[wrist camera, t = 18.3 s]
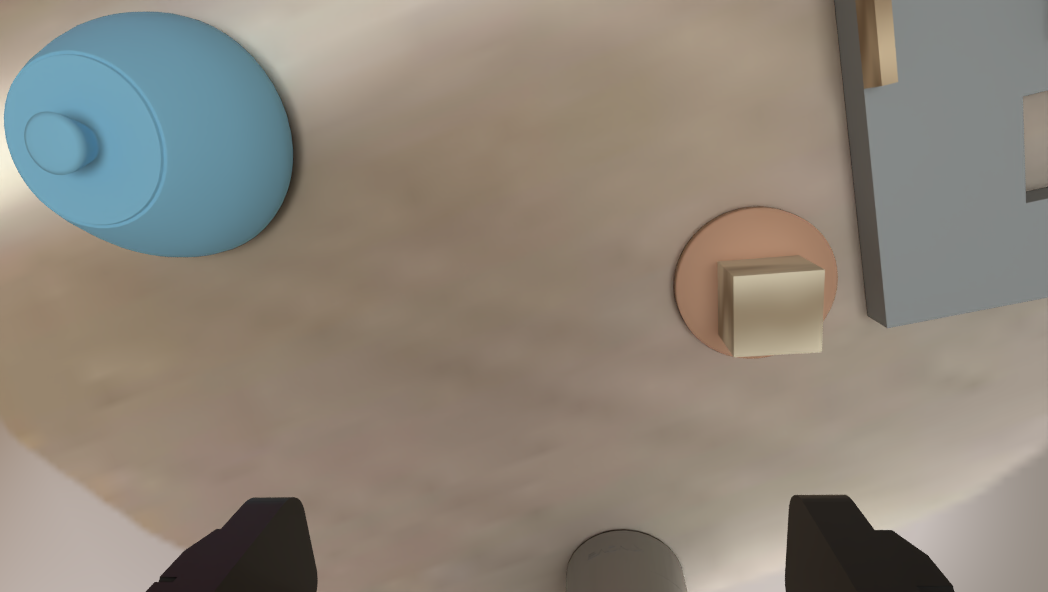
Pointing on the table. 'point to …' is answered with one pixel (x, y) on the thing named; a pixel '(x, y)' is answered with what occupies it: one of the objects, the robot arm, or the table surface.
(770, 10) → the table surface
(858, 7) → the frame
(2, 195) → the table surface
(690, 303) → the saucer
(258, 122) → the sugar bowl
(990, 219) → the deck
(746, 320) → the block
